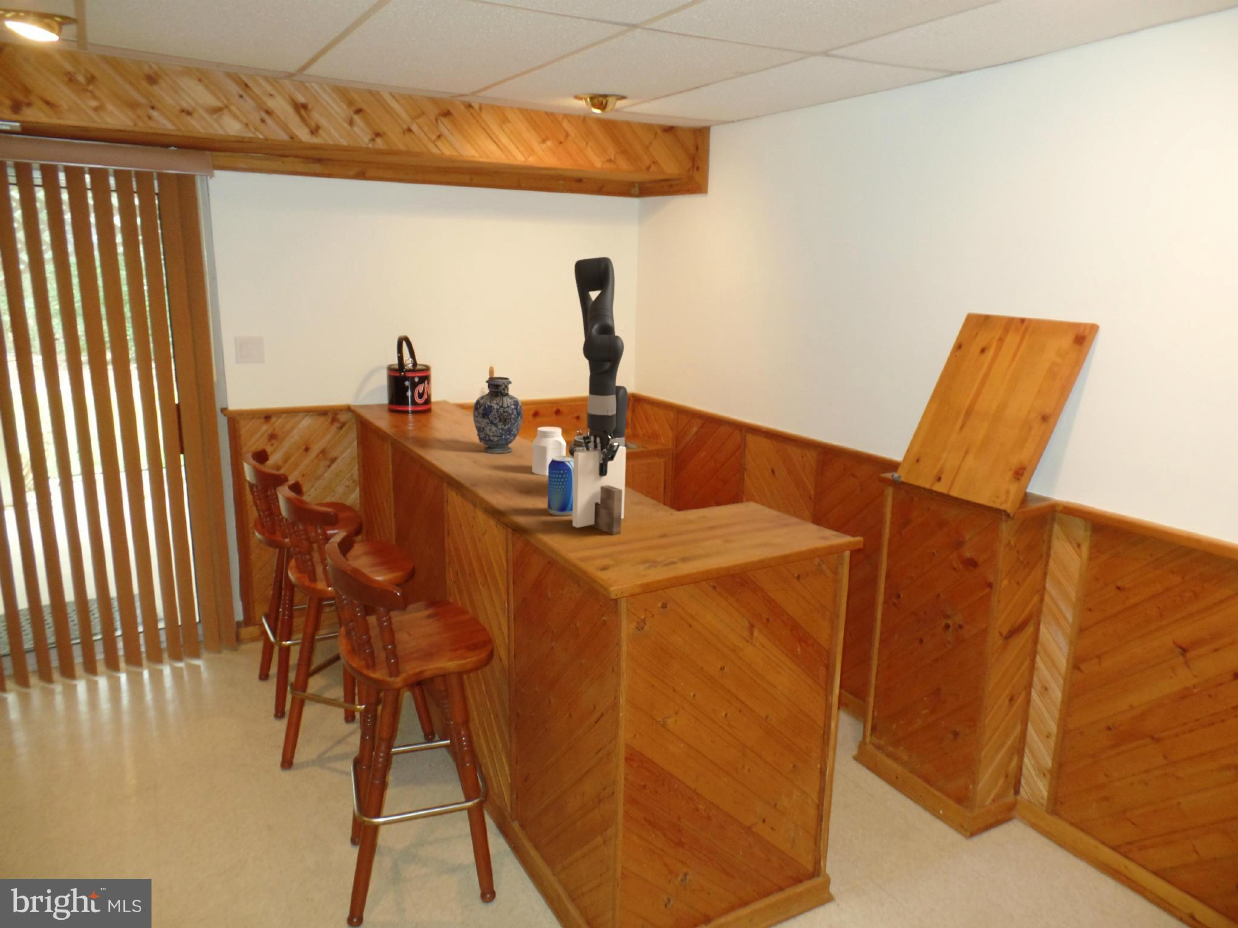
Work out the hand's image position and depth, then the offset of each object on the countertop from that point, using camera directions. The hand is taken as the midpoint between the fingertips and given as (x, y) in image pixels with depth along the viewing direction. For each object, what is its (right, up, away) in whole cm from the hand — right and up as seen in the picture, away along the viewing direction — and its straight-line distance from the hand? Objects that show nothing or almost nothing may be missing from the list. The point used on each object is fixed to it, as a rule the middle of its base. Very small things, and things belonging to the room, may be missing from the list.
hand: (599, 474), depth 227 cm
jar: (-19, 0, +65) cm, 68 cm away
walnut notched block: (0, -14, +3) cm, 15 cm away
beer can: (-11, -11, +16) cm, 22 cm away
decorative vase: (-41, +8, +95) cm, 104 cm away
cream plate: (0, -13, +3) cm, 13 cm away
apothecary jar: (-5, -7, +36) cm, 37 cm away
